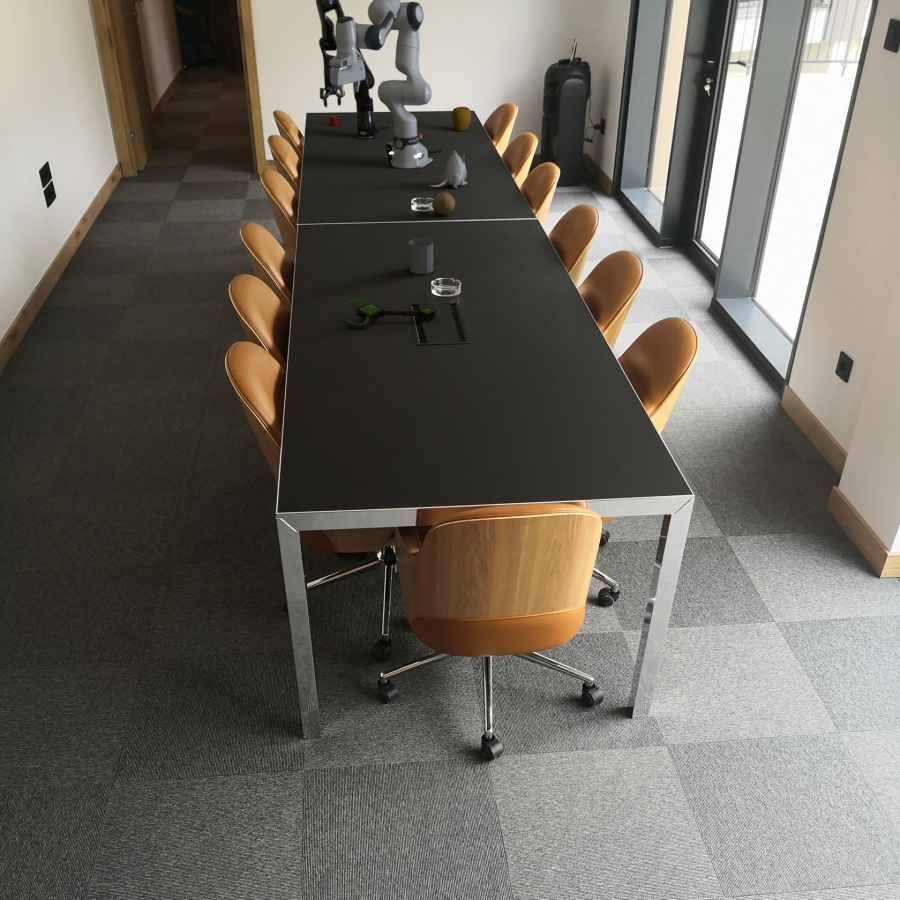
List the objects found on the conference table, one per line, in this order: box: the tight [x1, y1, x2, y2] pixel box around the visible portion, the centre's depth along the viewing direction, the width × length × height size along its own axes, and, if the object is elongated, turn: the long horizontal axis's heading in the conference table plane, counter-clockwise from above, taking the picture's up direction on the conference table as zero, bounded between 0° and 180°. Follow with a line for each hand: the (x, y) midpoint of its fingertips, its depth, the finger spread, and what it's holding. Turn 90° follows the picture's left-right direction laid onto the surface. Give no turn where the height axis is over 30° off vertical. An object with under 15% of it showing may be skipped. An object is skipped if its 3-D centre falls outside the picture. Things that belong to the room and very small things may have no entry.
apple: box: [451, 105, 472, 132], centre depth 487 cm, size 11×11×13 cm
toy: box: [428, 149, 468, 189], centre depth 390 cm, size 9×24×15 cm, turn 137°
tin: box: [329, 115, 339, 127], centre depth 502 cm, size 4×4×4 cm
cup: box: [408, 237, 434, 275], centre depth 305 cm, size 8×8×10 cm
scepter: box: [339, 296, 438, 329], centre depth 270 cm, size 6×13×30 cm
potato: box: [431, 192, 456, 216], centre depth 360 cm, size 10×14×8 cm
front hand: (349, 93), depth 377 cm, fingers open, 8 cm apart
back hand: (332, 106), depth 497 cm, fingers open, 8 cm apart
